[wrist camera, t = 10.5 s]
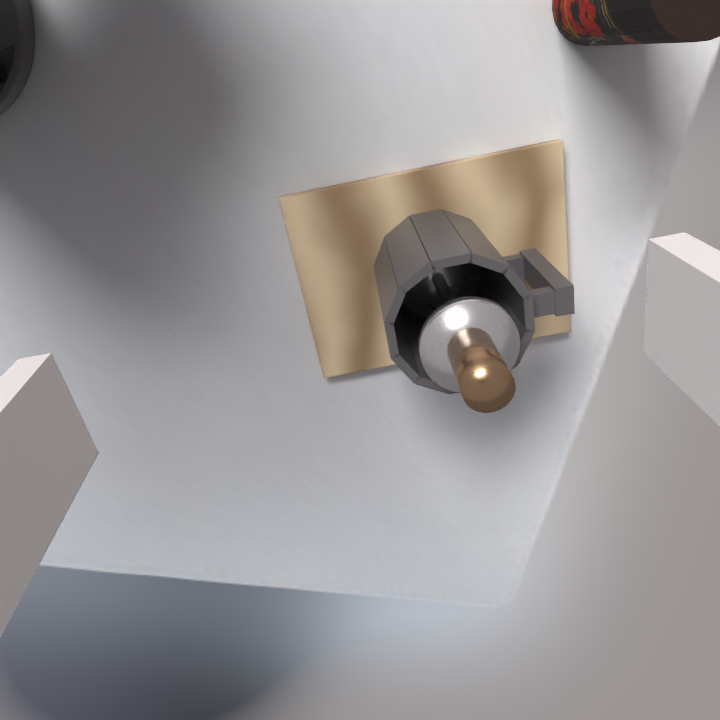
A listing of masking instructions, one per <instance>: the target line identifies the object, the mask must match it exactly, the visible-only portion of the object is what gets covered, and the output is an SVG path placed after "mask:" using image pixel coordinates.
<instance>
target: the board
mask: <svg viewBox="0 0 720 720" xmlns="http://www.w3.org/2000/svg"><path fill="white" fill-rule="evenodd" d="M279 201H280V205H281V209H282V213H283V217H284V221H285V225H286V229H287V233H288V237H289V241H290V245H291V249H292V253H293V257H294V261H295V265H296V269H297V273H298V277H299V281H300V285H301V289H302V293H303V297H304V301H305V305H306V309H307V313H308V317H309V321H310V325H311V329H312V333H313V337H314V341H315V345H316V349H317V353H318V357H319V361H320V365H321V369H322V373H323V377H324V378H327V377H332V376H337V375H342V374H348V373H353V372H358V371H364V370H369V369H374V368H379V367H385V366H390V365H395V363H394V362H393V361H392V360H391V358H390V353H389V347H388V342H387V337H386V332H385V326H384V321H383V316H382V310H381V305H380V299H379V294H378V288H377V283H376V277H375V272H374V263H375V260H376V258H377V255H378V252H379V250H380V247H381V244H382V241H383V239H384V237H385V235H387V234H388V233H389V232H390V231H391V230H393V229H394V228H395V227H396V226H397V225H398V224H400V223H401V222H402V221H403V220H404V219H405V218H407V217H408V216H410V215H413V214H418V213H423V212H428V211H433V210H438V209H441V210H442V209H443V210H446V211H449V212H452V213H455V214H458V215H461V216H464V217H466V218H469V219H471V220H472V221H473V222H474V223H475V224H476V226H477V227H478V228H479V229H480V230H481V232H482V233H483V234H484V235H485V236H486V238H487V239H488V240H489V241H490V242H491V244H492V245H493V246H494V247H495V248H496V250H497V251H498V252H499V253H500V254H501V256H502V257H504V256H509V255H515V254H520V253H519V251H521V250H526V249H531V248H535V249H537V250H538V251H539V252H540V253H541V254H542V255H543V256H544V257H545V258H546V259H547V260H548V261H549V262H550V263H551V264H552V265H553V266H554V267H555V268H556V269H557V270H558V271H559V272H560V273H561V274H562V275H563V276H564V277H565V278H567V279H568V280H569V274H568V250H567V227H566V203H565V179H564V155H563V141H561V140H553V141H548V142H543V143H538V144H533V145H528V146H524V147H519V148H514V149H509V150H504V151H499V152H494V153H489V154H485V155H480V156H475V157H470V158H465V159H460V160H455V161H451V162H446V163H441V164H436V165H431V166H426V167H421V168H416V169H412V170H407V171H402V172H397V173H392V174H387V175H382V176H378V177H373V178H368V179H363V180H358V181H353V182H348V183H344V184H339V185H334V186H329V187H324V188H319V189H314V190H309V191H305V192H300V193H295V194H290V195H285V196H280V199H279ZM520 279H521V281H522V282H523V283H524V284H525V286H526V287H527V288H528V289H529V290H533V288H532V287H531V286H530V285H529V284H528V283H527V281H526V280H525V279H524V278H523V277H522V278H520ZM534 319H535V333H534V335H533V337H532V339H533V338H538V337H544V336H549V335H554V334H560V333H565V332H570V331H571V322H570V314H568V315H563V316H558V317H556V316H555V314H552V315H547V316H541V317H536V318H534Z"/></svg>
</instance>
